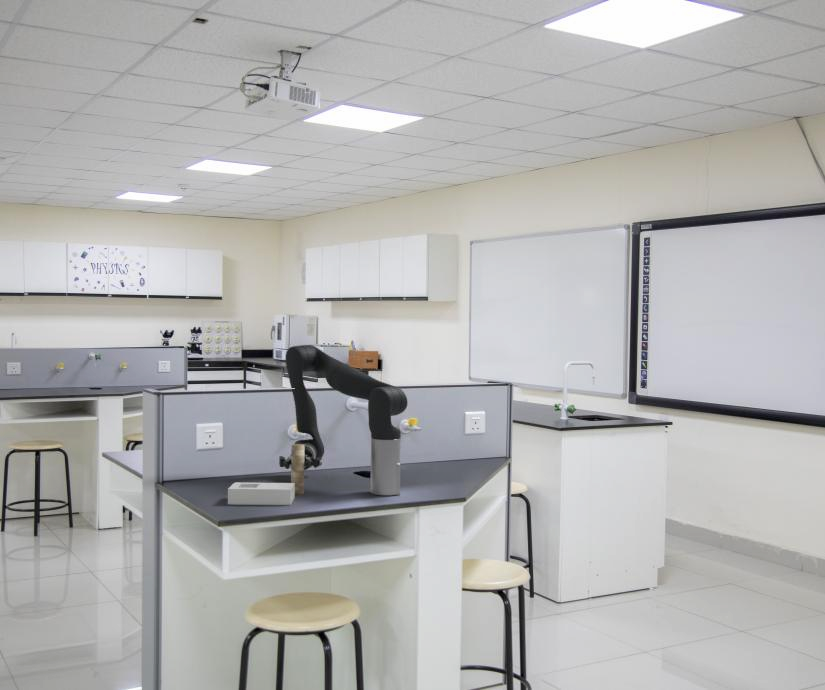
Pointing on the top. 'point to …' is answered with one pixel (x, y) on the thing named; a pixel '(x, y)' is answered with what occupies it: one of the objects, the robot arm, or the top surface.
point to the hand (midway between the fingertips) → (296, 465)
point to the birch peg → (297, 467)
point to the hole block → (261, 493)
